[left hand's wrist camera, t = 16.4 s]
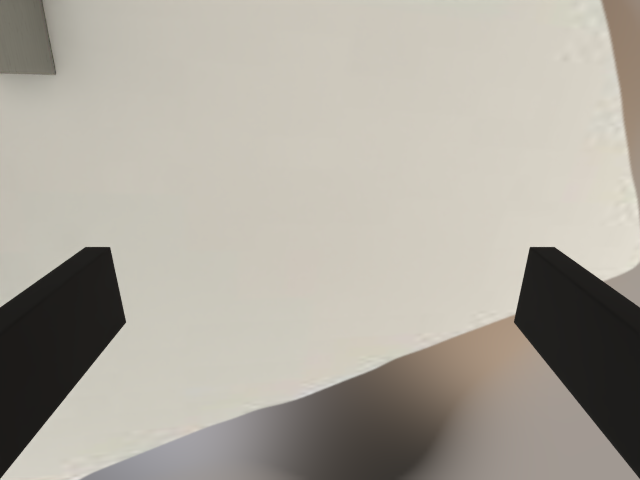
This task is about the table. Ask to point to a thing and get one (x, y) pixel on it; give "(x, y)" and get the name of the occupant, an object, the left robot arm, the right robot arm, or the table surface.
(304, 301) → the table surface
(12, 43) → the bar
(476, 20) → the table surface
